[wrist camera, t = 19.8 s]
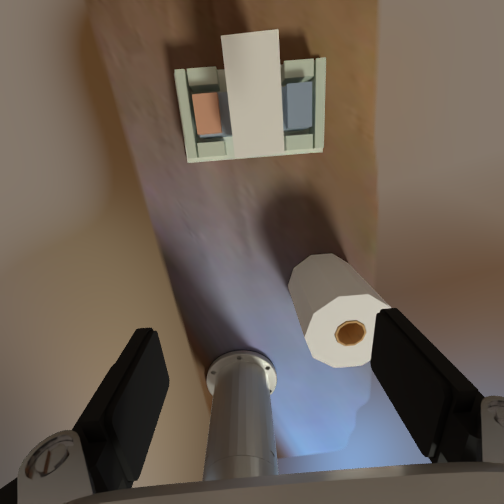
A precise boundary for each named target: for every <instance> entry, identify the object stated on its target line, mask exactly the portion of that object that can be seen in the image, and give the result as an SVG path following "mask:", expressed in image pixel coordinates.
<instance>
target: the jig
mask: <svg viewBox="0 0 504 504" xmlns="http://www.w3.org/2000/svg"><path fill="white" fill-rule="evenodd" d="M174 71H175V73H174V78H175V84H176V91H177V97H178V103H179V110H180V116H181V122H182V129H183V135H184V142H185V148H186V154H187V161H188V163H191V162H204V161H216V160H228V159H235V154H234V145H233V136H232V137H220V138H209V139H203V138H201V137H200V135H198V134H197V127H196V120H195V113H194V106H193V99H192V94H202V93H213V92H217V93H219V92H227V85H226V76H225V69H221V70H217V68H216V66H214V67H201V68H189V69H187V72H186V71H185V69H176V70H174ZM280 71H281V87H285V86H286V85H287V84H289V83H300V82H312V126H311V127H309V128H307V129H304V130H300V131H289V132H284V151H285V153H283V154H274V155H264V156H255V157H266V156H278V155H291V154H303V153H316V152H323V148H324V117H325V78H326V58H316V59H315V61H314V58H313V59H301V60H288V61H284V63H283V65H280ZM246 158H253V157H246ZM236 159H241V158H236Z"/></svg>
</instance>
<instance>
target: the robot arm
mask: <svg viewBox="0 0 504 504" xmlns="http://www.w3.org/2000/svg"><path fill="white" fill-rule="evenodd" d="M370 363H371V368H372V370H373V372H374V374H375V375H376V377H377V379H378V381H379V382H380V384H381V386H382V387H383V389H384V391H385V392H386V394H387V396H388V397H389V399H390V401H391V402H392V404H393V406H394V407H395V409H396V411H397V413H398V414H399V416H400V417H401V419H402V421H403V423H404V424H405V426H406V428H407V429H408V431H409V433H410V434H411V436H412V438H413V439H414V441H415V443H416V444H417V446H418V448H419V449H420V451H421V453H422V454H423V455H424V456H425V457H429V459H430V460H431V462H432V463H430V464H411V465H398V466H385V467H371V468H358V469H344V470H332V471H319V472H306V473H294V474H282V475H279V472H278V463H277V454H276V445H275V435H274V426H273V417H272V408H271V399H270V395H271V394H272V393H273V391H274V390H275V387H276V384H277V375H276V370H275V367H274V366H273V364H272V363H271V362H270V361H269V360H268V359H267V358H266V357H264V356H263V355H261V354H259V353H256V352H252V351H245V350H242V351H233V352H229V353H226V354H224V355H222V356H220V357H218V358H217V359H216V360H215V361H214V362H213V363H212V364H211V366H210V368H209V370H208V374H207V387H208V389H209V391H210V393H211V394H212V395H213V401H212V409H211V417H210V425H209V434H208V442H207V448H206V457H205V465H204V472H203V481H199V482H187V483H176V484H166V485H156V486H147V487H138V488H132V485H133V482H134V481H136V480H138V478H139V476H140V474H141V470H142V467H143V464H144V462H145V458H146V455H147V452H148V449H149V446H150V443H151V440H152V437H153V433H154V431H155V427H156V425H157V421H158V418H159V415H160V412H161V409H162V406H163V403H164V400H165V397H166V394H167V391H168V387H169V376H168V371H167V368H166V364H165V360H164V356H163V352H162V348H161V344H160V340H159V337H158V333H157V331H153V329H152V328H140V329H136V331H135V332H134V334H133V336H132V337H131V339H130V340H129V342H128V344H127V345H126V347H125V349H124V350H123V352H122V353H121V355H120V357H119V358H118V360H117V361H116V363H115V364H114V365H113V366H112V367H111V368H110V370H109V372H108V373H107V375H106V376H105V378H104V379H103V381H102V383H101V384H100V386H99V387H98V389H97V391H96V392H95V394H94V395H93V397H92V398H91V400H90V402H89V403H88V405H87V407H86V408H85V410H84V411H83V413H82V415H81V416H80V418H79V419H78V421H77V422H76V424H75V426H74V428H73V429H72V430H64V431H60V432H57V433H55V434H53V435H51V436H49V437H47V438H46V439H44V440H43V441H41V442H40V443H39V444H38V445H36V446H35V447H34V448H33V449H32V450H31V451H30V452H29V454H28V455H27V456H26V458H25V459H24V460H23V462H22V464H21V466H20V468H19V471H18V477H17V478H16V479H14V480H13V481H11V482H10V483H8V484H7V485H5V486H4V487H3V488H1V489H0V504H504V397H501V396H488V397H484V396H483V395H482V394H481V393H480V392H479V391H478V389H477V388H476V387H475V386H474V385H473V384H472V383H471V382H470V381H469V380H468V379H467V378H466V377H465V376H464V375H463V374H462V373H461V372H460V371H459V370H458V369H457V368H456V367H455V366H454V365H453V364H452V363H451V362H450V361H449V360H448V359H447V358H446V357H445V356H444V355H443V354H442V353H441V352H440V351H439V350H438V349H437V348H436V347H435V346H434V345H433V344H432V343H431V342H430V341H429V340H428V339H427V338H426V337H425V336H424V335H423V334H422V333H421V332H420V331H419V330H418V329H417V328H416V327H415V326H414V325H413V324H412V323H411V322H410V321H409V320H408V319H407V318H406V317H405V316H404V315H403V314H402V313H401V312H400V311H399V310H398V309H397V308H388V309H381V310H380V313H377V314H376V320H375V328H374V336H373V344H372V352H371V361H370Z"/></svg>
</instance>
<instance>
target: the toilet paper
mask: <svg viewBox="0 0 504 504" xmlns="http://www.w3.org/2000/svg"><path fill="white" fill-rule="evenodd" d="M288 289H289V292H290V295H291V298H292V301H293V304H294V307H295V310H296V313H297V316H298V319H299V322H300V325H301V328H302V331H303V334H304V337H305V340H306V342H307V344H308V347H309V349H310V351H311V354H312V356H313V358H315V359H317V360H319V361H321V362H323V363H325V364H327V365H330V366H332V367H334V368H340V367H352V366H362V365H363V364H365V363H367V362H368V361H370V360H371V352H372V344H373V336H374V328H375V320H376V314H377V313H380V310H381V309H388V308H391V307H390V306H389V305H388V304H387V303H386V302H385V301H384V300H383V299H382V298H381V296H380V295H378V293H377V292H376V291H375V290H374V289H373V288H372V287H371V286H370V285H369V284H368V283H367V282H366V281H365V280H364V279H363V278H362V277H361V276H360V275H359V274H358V273H357V272H356V270H355V269H354V268H353V267H352V266H351V265H350V264H349V263H347V262H346V261H344V260H342V259H341V258H339V257H337V256H336V255H334V254H332V253H330V254H318V255H310V256H309V257H307V258H306V259H305V260H304V261H302V262H301V263H300V264H298V265H297V266H296V267H294V268H293V271H292V274H291V277H290V281H289V284H288Z"/></svg>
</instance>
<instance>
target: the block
mask: <svg viewBox="0 0 504 504" xmlns="http://www.w3.org/2000/svg"><path fill="white" fill-rule="evenodd" d="M221 42H222V51H223V59H224V68H225V76H226V85H227V94H228V102H229V111H230V119H231V128H232V136H233V145H234V154H235V159H236V158H246V157H255V156H264V155H274V154H283V153H285V151H284V131H283V111H282V91H281V71H280V50H279V30H278V29H276V30H267V31H258V32H249V33H240V34H231V35H222V36H221Z"/></svg>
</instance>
